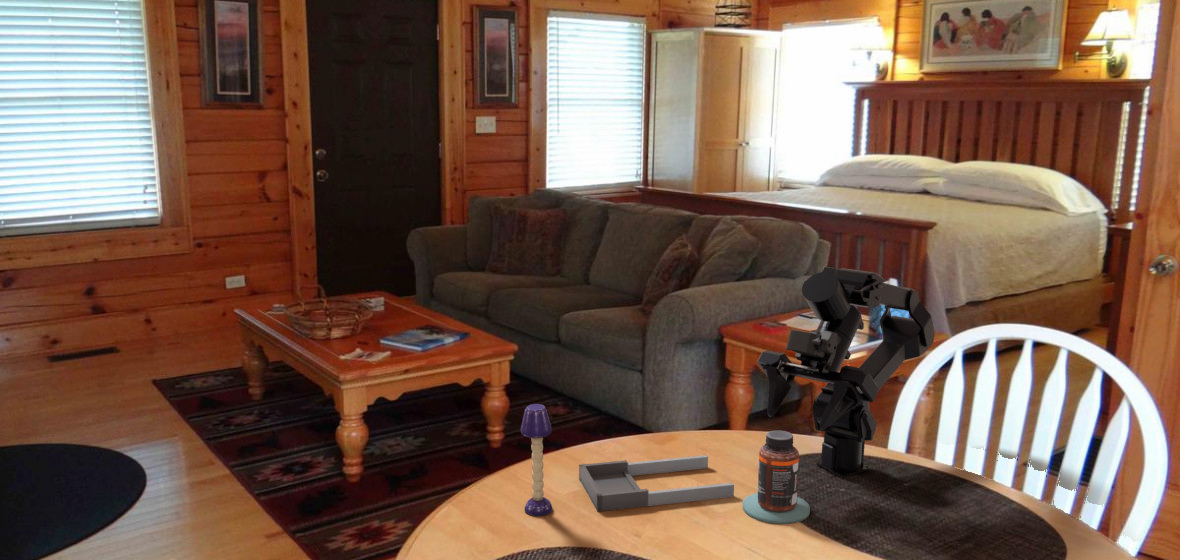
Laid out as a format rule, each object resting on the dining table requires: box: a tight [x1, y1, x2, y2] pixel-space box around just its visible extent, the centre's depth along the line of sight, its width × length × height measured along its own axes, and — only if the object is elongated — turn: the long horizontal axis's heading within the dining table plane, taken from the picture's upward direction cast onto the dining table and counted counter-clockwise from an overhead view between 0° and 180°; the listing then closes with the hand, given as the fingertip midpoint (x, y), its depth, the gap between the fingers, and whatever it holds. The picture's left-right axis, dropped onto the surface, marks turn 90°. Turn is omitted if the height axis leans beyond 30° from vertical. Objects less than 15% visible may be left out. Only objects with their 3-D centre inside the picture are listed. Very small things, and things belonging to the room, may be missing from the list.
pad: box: [742, 492, 811, 525], centre depth 145 cm, size 10×10×1 cm
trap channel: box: [578, 454, 735, 513], centre depth 152 cm, size 22×12×2 cm, turn 103°
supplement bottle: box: [757, 430, 800, 512], centre depth 144 cm, size 6×6×11 cm
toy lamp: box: [520, 403, 553, 517], centre depth 143 cm, size 5×5×17 cm
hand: (794, 422), depth 146 cm, fingers open, 9 cm apart
